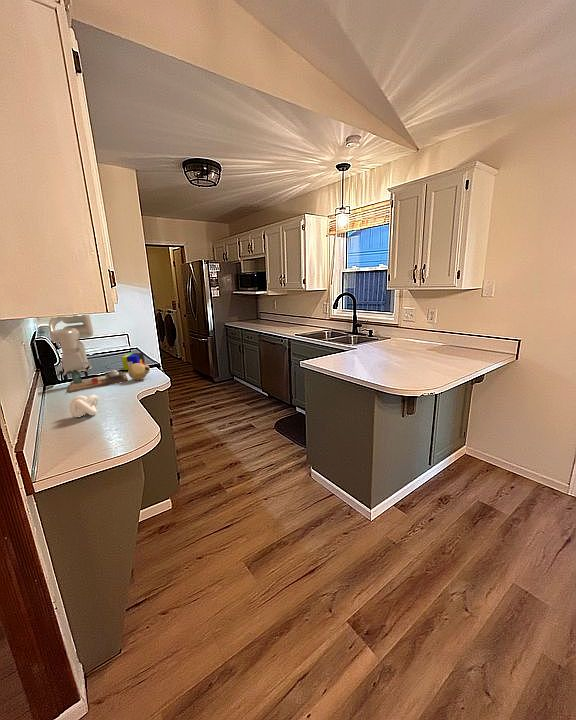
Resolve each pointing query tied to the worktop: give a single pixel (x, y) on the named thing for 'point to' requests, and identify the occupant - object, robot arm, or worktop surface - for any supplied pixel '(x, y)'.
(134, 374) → the toy pig
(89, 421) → the worktop surface
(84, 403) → the white knot
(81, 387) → the game board
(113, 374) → the dome
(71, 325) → the robot arm
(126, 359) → the puzzle toy
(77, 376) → the pawn
